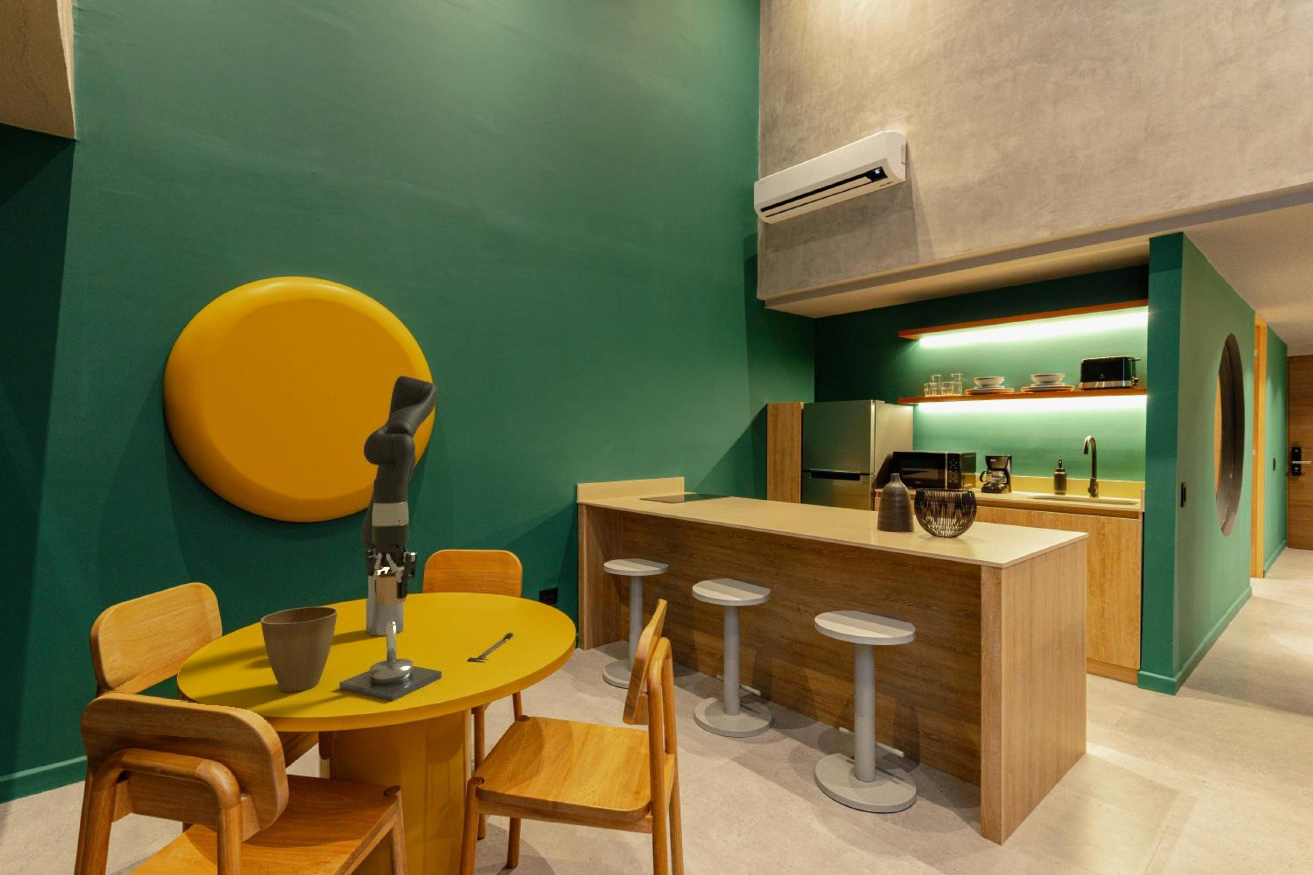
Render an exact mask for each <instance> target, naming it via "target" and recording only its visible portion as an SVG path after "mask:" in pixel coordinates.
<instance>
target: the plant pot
mask: <svg viewBox="0 0 1313 875" xmlns="http://www.w3.org/2000/svg"><path fill="white" fill-rule="evenodd" d="M337 618H338V608H335V607H331V606H309V607H307V606H306V607H297V608H290V609H284V610H279V611H276V612H272V613H270V614H267V615H265V616H263V617H262V618H261V619H260V625H261V630H262V636H263V641H264V646H265V651H266V654H267V659H268V661H269V664H270V667H271V670H272V672H273V675H274V678H275V680H276V683H277V684H278V686H279V688H280V690H281V691H282V692H284V691H285V693H295V692H302V691H303V692H304V691H306V690H310V689H312V688H314V687H316V686H317V685H319V682H320V681H321V678H322V676H323V672H324V670H325V668H326V664H327V661H328V658H329V655H330V652H331V647H332V644H333V643H332V642H333V639H334V634H335V629H336V623H337Z"/></svg>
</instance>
